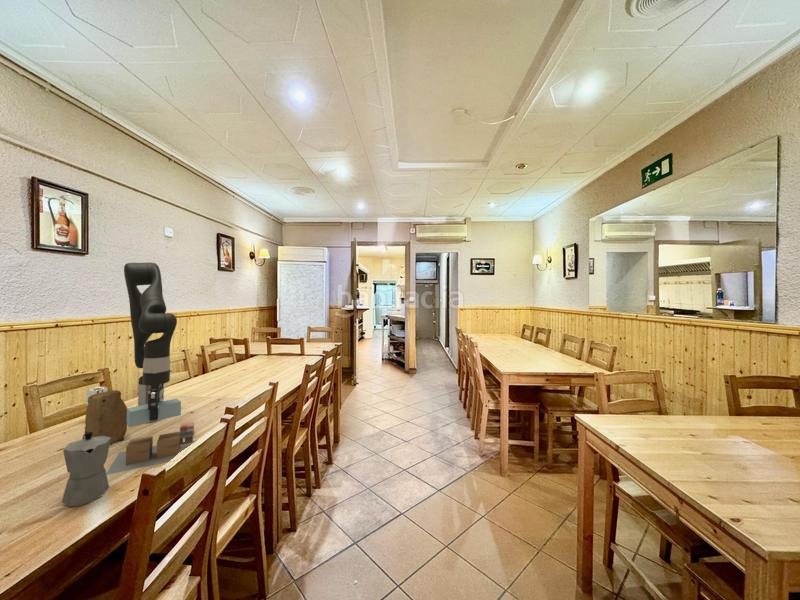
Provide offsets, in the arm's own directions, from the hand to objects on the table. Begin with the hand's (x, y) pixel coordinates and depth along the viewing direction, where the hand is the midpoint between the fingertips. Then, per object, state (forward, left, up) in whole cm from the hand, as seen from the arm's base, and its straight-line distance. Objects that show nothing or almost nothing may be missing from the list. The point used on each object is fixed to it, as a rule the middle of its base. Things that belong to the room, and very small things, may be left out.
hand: (155, 416), depth 105 cm
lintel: (0, 0, -1) cm, 1 cm away
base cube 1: (0, -4, -14) cm, 14 cm away
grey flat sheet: (-1, 0, -14) cm, 14 cm away
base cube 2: (0, +4, -14) cm, 14 cm away
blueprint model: (-6, +8, -14) cm, 17 cm away
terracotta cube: (-14, +9, -14) cm, 22 cm away
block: (-21, -17, -15) cm, 31 cm away
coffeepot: (+16, -13, -15) cm, 25 cm away
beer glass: (-51, -27, -14) cm, 60 cm away
